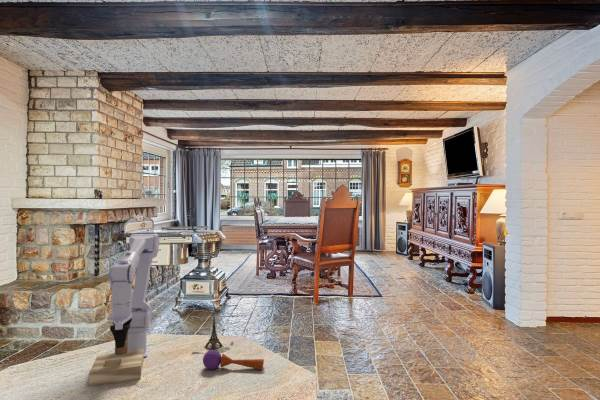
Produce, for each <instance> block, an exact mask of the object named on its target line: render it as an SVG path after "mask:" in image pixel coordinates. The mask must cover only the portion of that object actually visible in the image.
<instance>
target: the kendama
mask: <svg viewBox="0 0 600 400" xmlns="http://www.w3.org/2000/svg"><path fill="white" fill-rule="evenodd" d="M221 354H222V355H221ZM264 361H265V359H263V358H261V359H260V358H259V359H258V358H256V359H255V358H254V359H253V358H252V359H251V358H249V359H232V358H230V357H229V356H227V355H226V354H224V353H219V352H218V351H216V350H208V351H206V352H205V353H204V355H203V358H202V364H203V366H204V368H206V369H207V370H215V369H217V368H218V367H219V366H220V368H223V367H226V366H229V365H231V364H233V365H239V366H243V367H247V368H251V369H252V368H253V369H256V370H260V369H261V370H260V371H262V370H263V369H264V365H265V364H264V363H265V362H264Z"/></svg>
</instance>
